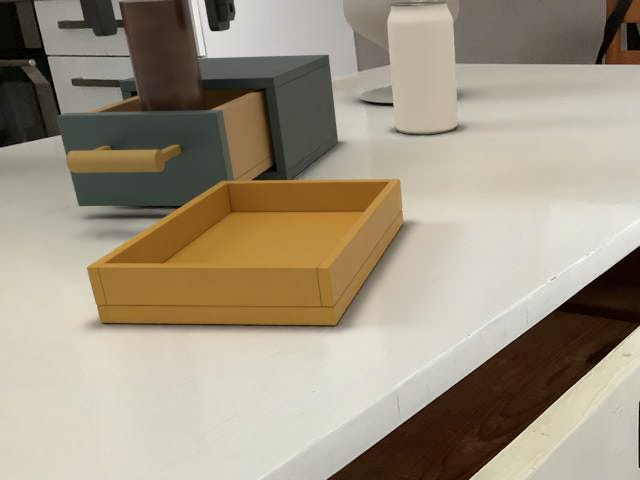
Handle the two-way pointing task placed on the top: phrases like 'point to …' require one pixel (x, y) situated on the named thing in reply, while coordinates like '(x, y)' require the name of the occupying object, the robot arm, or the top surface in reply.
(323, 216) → the tray
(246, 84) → the cabinet
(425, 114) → the can
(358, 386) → the top surface
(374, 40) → the chalice
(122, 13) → the brown cylinder
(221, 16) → the robot arm
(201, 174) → the drawer
